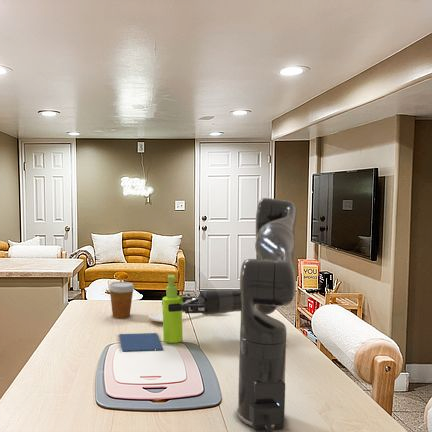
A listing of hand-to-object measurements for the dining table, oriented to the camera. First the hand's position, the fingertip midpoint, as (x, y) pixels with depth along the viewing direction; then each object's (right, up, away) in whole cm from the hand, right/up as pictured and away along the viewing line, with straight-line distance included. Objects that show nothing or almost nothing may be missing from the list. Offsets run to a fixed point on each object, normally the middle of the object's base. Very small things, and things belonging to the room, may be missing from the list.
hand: (165, 305), depth 133 cm
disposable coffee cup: (-15, -10, +27) cm, 33 cm away
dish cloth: (-8, -12, 0) cm, 14 cm away
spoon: (+9, -10, +26) cm, 30 cm away
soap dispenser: (+2, -11, +1) cm, 11 cm away
